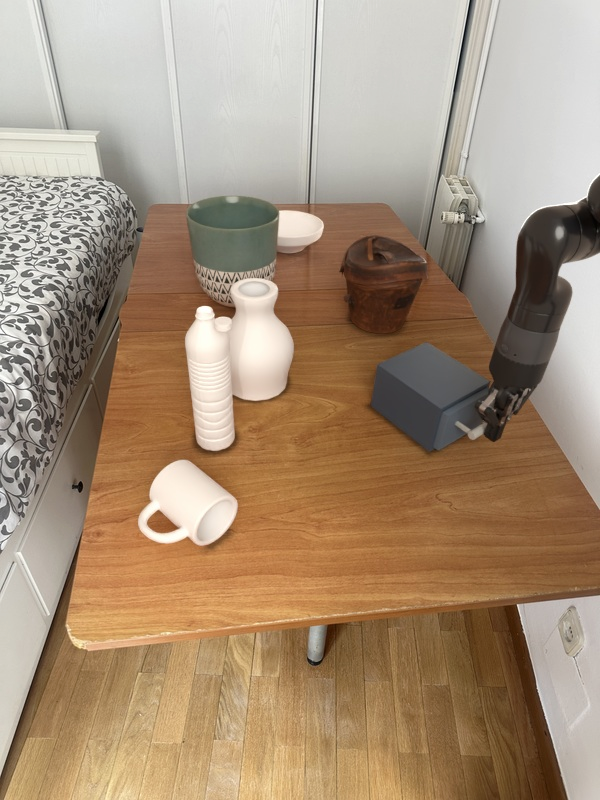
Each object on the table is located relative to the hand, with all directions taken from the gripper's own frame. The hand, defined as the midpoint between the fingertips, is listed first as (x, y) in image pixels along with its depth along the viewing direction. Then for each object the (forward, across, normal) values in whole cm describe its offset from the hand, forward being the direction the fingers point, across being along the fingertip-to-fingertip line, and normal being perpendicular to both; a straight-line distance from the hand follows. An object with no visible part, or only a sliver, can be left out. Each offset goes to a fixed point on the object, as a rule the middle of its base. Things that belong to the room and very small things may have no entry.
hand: (491, 437), depth 86 cm
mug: (+5, -47, +16) cm, 50 cm away
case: (+5, +16, +44) cm, 47 cm away
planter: (+5, -6, +68) cm, 69 cm away
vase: (+5, -19, +40) cm, 44 cm away
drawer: (+4, 0, +10) cm, 11 cm away
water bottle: (+5, -34, +29) cm, 45 cm away
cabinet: (+5, 0, +14) cm, 15 cm away
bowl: (+5, +23, +87) cm, 90 cm away
